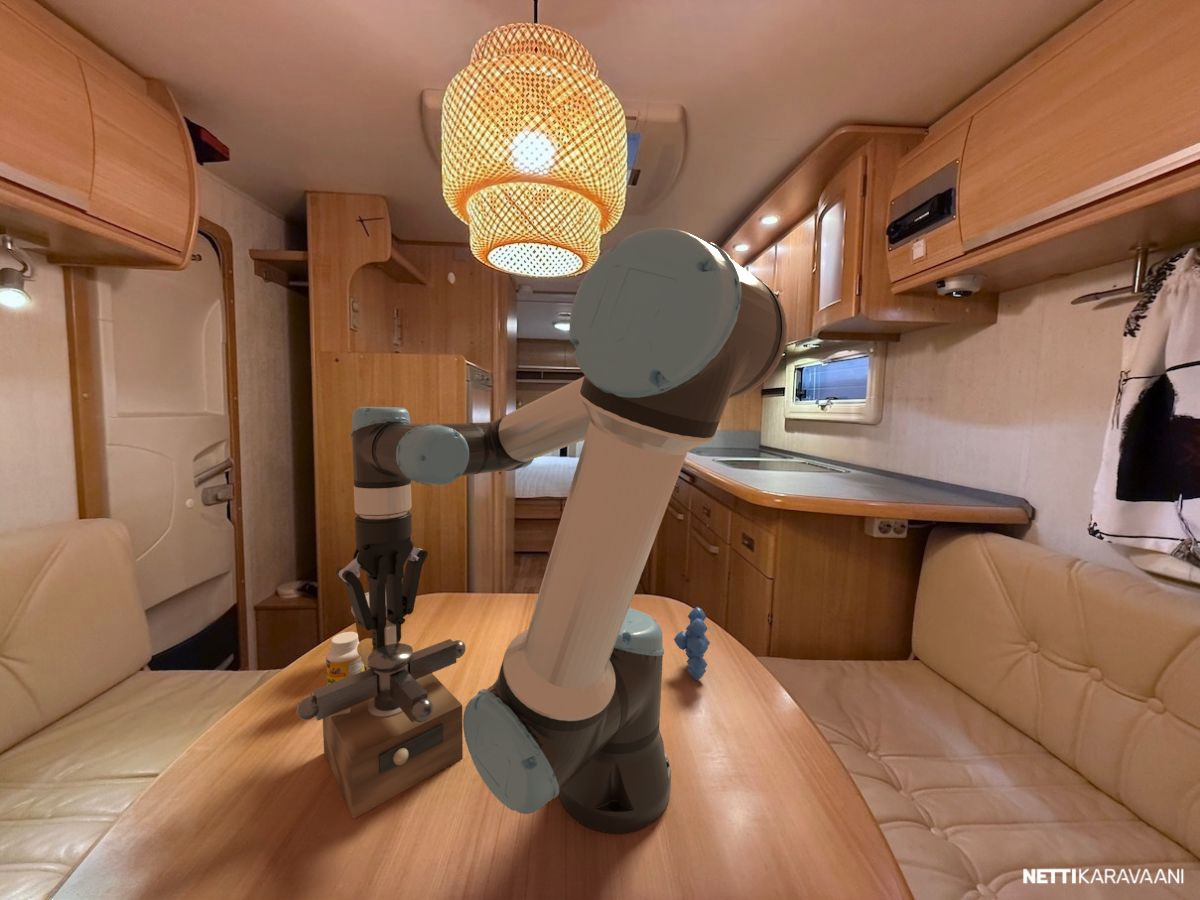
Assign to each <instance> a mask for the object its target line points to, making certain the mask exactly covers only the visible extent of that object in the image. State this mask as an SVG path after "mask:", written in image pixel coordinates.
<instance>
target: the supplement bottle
mask: <svg viewBox="0 0 1200 900" xmlns="http://www.w3.org/2000/svg"><path fill="white" fill-rule="evenodd" d="M359 643H360V642H359V640H358V634H357V632H355V631H344V632H341V633H339V634H337V635H334V636H333V637H332V638H331V640H330V648H329V649H328V650H327V651H326V655H325V656H326V657H325V658H326V659H325V662H326V666H325V667H326V685H328V684H331V683H333V682H336V681H339V680H341V679H344V678H347V677H349V676H352V675H355V674H358V673H360V672H363V671H365V665H364V664H363V663H362V661H361V656H360V655H359V654H358V652H357V646H358V644H359Z"/></svg>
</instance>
